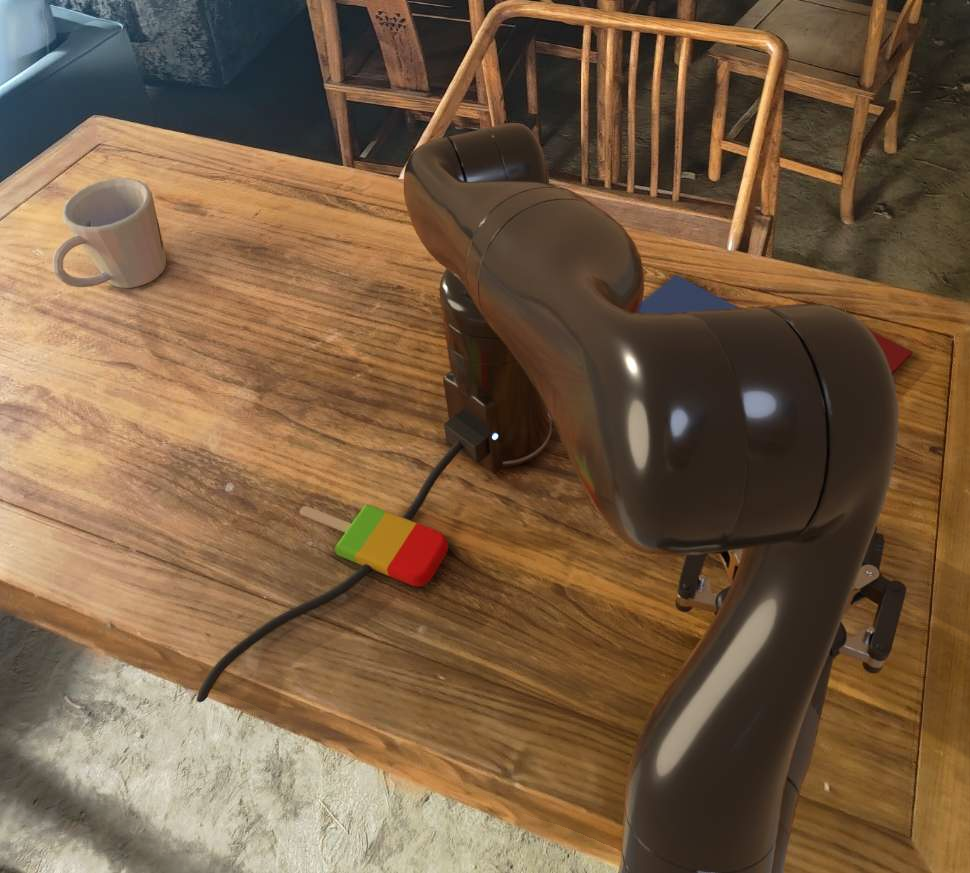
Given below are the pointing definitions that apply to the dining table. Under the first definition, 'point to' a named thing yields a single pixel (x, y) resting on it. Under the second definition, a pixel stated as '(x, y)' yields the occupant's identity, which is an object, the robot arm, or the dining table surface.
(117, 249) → the mug
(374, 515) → the popsicle
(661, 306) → the blue mat
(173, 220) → the dining table surface
